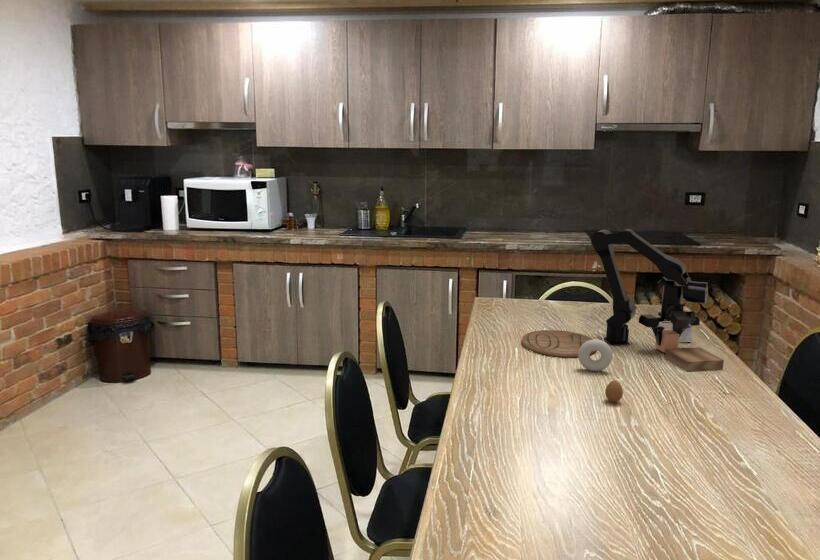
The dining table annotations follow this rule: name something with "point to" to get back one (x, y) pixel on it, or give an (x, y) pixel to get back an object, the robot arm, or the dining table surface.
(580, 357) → the donut
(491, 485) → the dining table surface
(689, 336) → the medicine box
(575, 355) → the trivet
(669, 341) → the terracotta block
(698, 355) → the walnut base
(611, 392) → the egg
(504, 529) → the dining table surface
